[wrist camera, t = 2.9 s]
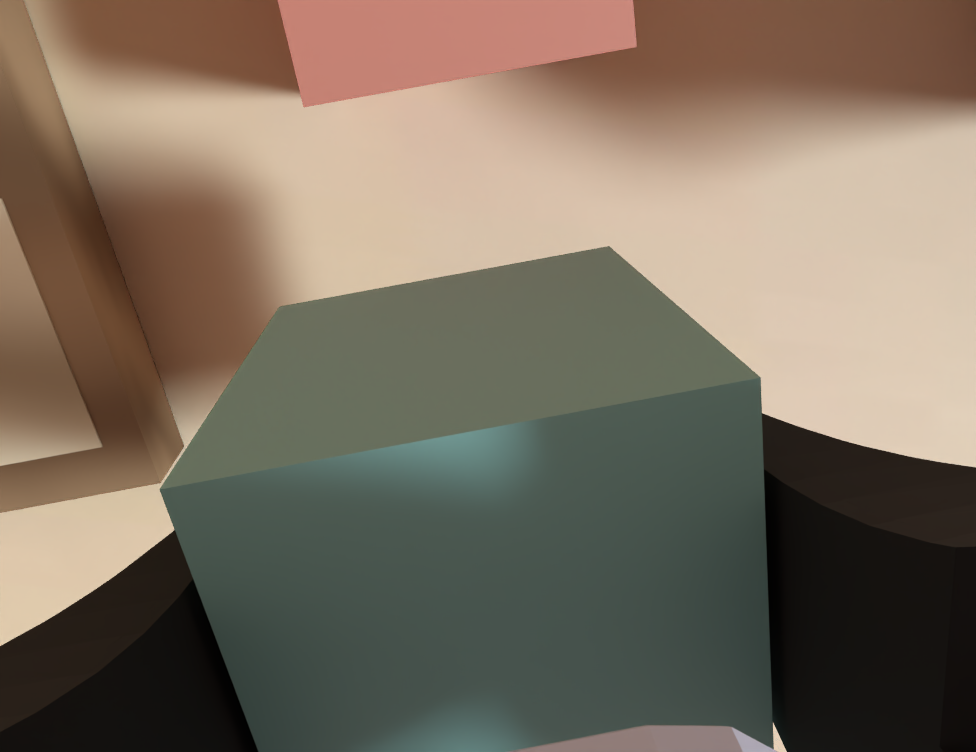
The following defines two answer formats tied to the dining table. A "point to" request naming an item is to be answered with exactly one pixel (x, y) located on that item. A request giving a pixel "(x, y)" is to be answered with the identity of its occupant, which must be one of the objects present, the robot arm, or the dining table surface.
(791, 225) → the dining table surface
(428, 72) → the brick block
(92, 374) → the walnut base plate
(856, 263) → the dining table surface
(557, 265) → the teal block
